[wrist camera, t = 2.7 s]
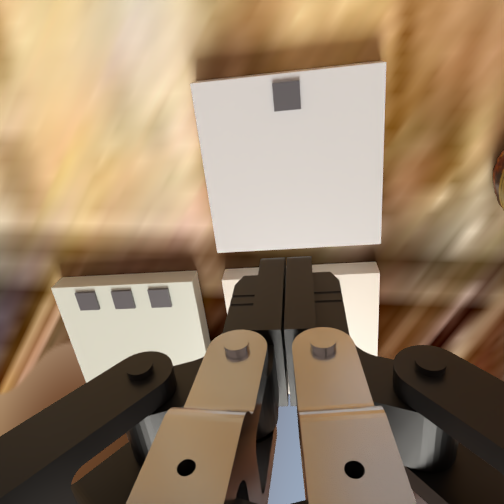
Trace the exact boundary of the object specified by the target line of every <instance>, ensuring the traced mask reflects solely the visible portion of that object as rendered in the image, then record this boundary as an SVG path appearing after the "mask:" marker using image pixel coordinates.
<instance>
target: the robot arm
mask: <svg viewBox="0 0 504 504" xmlns="http://www.w3.org/2000/svg"><path fill="white" fill-rule="evenodd" d="M288 389H289V391H290V402H291V406H297V413H298V414H297V415H298V427H299V439H300V449H301V459H302V469H303V479H304V489H305V498H306V500H305V501H300V502H296V503H292V504H417V503H416V500H415V497H414V495H413V492H412V490H413V491H415V492H416V493H417V494H418V495H419V496H420V497H421V498H422V499H423V500H424V501H426V502H427V503H428V504H504V381H502V380H500V379H498V378H496V377H495V376H493V375H491V374H489V373H487V372H486V371H484V370H482V369H480V368H478V367H477V366H475V365H473V364H471V363H469V362H468V361H466V360H464V359H462V358H460V357H458V356H457V355H455V354H453V353H451V352H449V351H447V350H445V349H442V348H439V347H435V346H428V345H417V346H411V347H408V348H405V349H403V350H401V351H400V352H399V353H398V354H397V355H396V357H395V359H394V360H393V359H388V358H383V357H378V356H374V355H372V354H369V353H367V352H365V351H363V350H361V349H360V348H358V347H357V346H356V345H355V343H354V341H353V339H352V338H351V337H350V335H349V330H348V324H347V319H346V313H345V308H344V303H343V297H342V293H341V286H340V281H339V279H338V278H336V277H335V276H334V275H333V274H332V273H331V272H312V260H311V256H304V257H287V266H286V261H285V258H268V259H261V260H260V265H259V272H258V275H251V276H243V277H242V278H241V279H240V280H239V281H238V282H237V283H236V284H235V286H234V290H233V294H232V298H231V302H230V306H229V310H228V314H227V318H226V322H225V326H224V330H223V334H221V335H219V336H218V337H216V338H215V339H214V340H213V341H212V342H211V343H210V344H209V346H208V348H207V351H206V353H205V356H204V357H202V358H200V359H197V360H194V361H191V362H187V363H183V364H179V365H175V366H173V364H172V361H171V359H170V358H169V357H168V356H167V355H166V354H164V353H161V352H156V351H147V352H141V353H137V354H134V355H132V356H129V357H128V358H126V359H124V360H122V361H121V362H119V363H118V364H116V365H114V366H113V367H111V368H110V369H108V370H106V371H105V372H103V373H102V374H100V375H98V376H97V377H95V378H93V379H92V380H90V381H89V382H87V383H85V384H84V385H82V386H81V387H79V388H77V389H76V390H74V391H73V392H71V393H69V394H68V395H66V396H65V397H63V398H61V399H60V400H58V401H57V402H55V403H53V404H52V405H50V406H49V407H47V408H45V409H44V410H42V411H41V412H39V413H38V414H36V415H34V416H33V417H31V418H29V419H28V420H26V421H24V422H23V423H21V424H20V425H18V426H16V427H15V428H13V429H12V430H10V431H8V432H7V433H5V434H4V435H2V436H1V437H0V504H268V497H269V489H270V482H271V475H272V468H273V460H274V453H275V446H276V439H277V427H276V424H277V420H278V406H288ZM125 433H126V434H127V437H128V440H129V442H128V443H127V444H125V445H124V446H123V447H121V448H120V449H119V450H118V451H116V452H115V453H114V454H112V455H111V456H110V457H109V458H107V459H106V460H105V461H103V462H102V463H101V464H99V465H98V466H97V467H95V468H94V469H93V470H92V471H90V472H89V473H88V474H86V475H85V476H84V477H82V478H81V479H80V480H79V481H77V482H76V483H74V484H72V485H71V482H72V479H73V477H74V475H75V473H76V472H77V471H78V469H79V468H80V467H81V466H82V465H84V464H85V463H86V462H87V461H89V460H90V459H91V458H93V457H94V456H96V455H97V454H98V453H99V452H101V451H102V450H104V448H106V447H107V446H109V445H110V444H112V443H113V442H114V441H115V440H117V439H118V438H120V437H121V436H122V435H123V434H125ZM463 445H464V446H463ZM474 453H475V454H474ZM485 461H486V462H485ZM496 469H497V470H496Z"/></svg>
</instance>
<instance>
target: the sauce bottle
mask: <svg viewBox="0 0 504 504" xmlns="http://www.w3.org/2000/svg"><path fill="white" fill-rule="evenodd" d="M493 183H494V189H495V194H496V196H497V200H498V203H499V205H500V206H501V207H502V208H503V210H504V149H503V151H502V153H501V154H500V155H499V157H498V158H497V164H496V165H495V167H494V169H493Z"/></svg>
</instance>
